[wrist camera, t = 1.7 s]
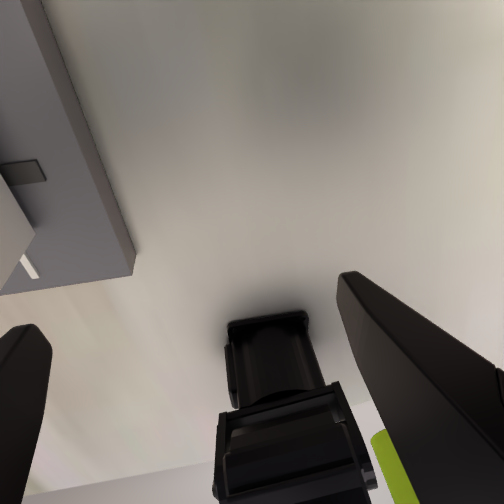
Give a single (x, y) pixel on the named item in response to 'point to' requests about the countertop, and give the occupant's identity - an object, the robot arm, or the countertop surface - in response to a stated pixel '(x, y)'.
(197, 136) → the countertop surface
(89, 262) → the gray slotted panel
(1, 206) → the fader
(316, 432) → the robot arm
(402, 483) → the soap dispenser
